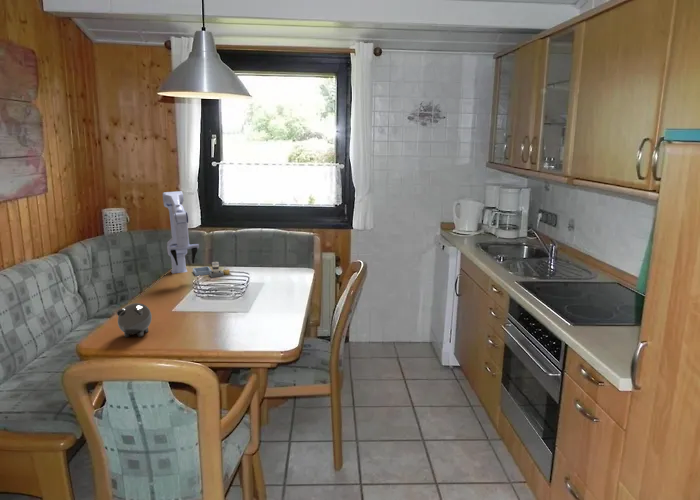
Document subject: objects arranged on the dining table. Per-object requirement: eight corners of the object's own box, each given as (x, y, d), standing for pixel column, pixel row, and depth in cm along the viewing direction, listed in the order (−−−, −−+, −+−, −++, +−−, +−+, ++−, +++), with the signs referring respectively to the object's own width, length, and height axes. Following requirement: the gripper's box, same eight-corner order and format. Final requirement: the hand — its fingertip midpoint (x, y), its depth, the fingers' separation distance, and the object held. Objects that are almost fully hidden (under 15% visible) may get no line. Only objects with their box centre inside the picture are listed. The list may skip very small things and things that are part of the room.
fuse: (212, 275, 278) (211, 262, 276) (218, 274, 279) (217, 261, 277) (213, 276, 275) (212, 263, 273) (220, 275, 276) (219, 262, 275)
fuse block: (209, 275, 279) (208, 269, 279) (229, 273, 283) (228, 267, 283) (211, 279, 272) (211, 272, 271) (232, 276, 276) (232, 270, 276)
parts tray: (192, 272, 287) (192, 268, 286) (208, 270, 290) (208, 266, 290) (195, 277, 277) (195, 272, 277) (212, 275, 281) (211, 270, 280)
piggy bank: (112, 342, 189) (108, 311, 186) (129, 328, 203) (125, 299, 201) (143, 341, 188) (140, 310, 186) (158, 327, 203) (155, 298, 201)
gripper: (167, 239, 254) (170, 267, 256) (198, 236, 259) (201, 264, 262) (166, 237, 260) (169, 264, 263) (197, 234, 265) (199, 261, 268)
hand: (185, 264), depth 263 cm, fingers open, 7 cm apart
